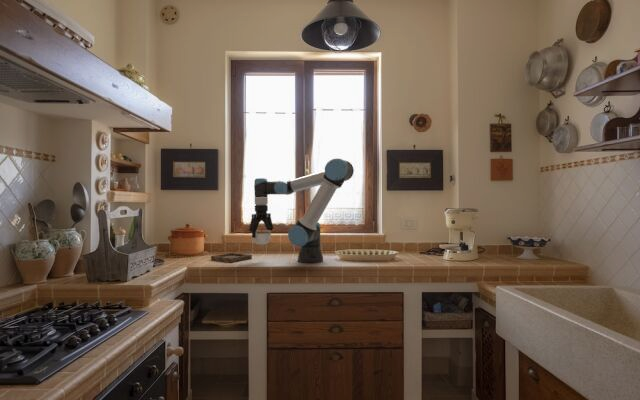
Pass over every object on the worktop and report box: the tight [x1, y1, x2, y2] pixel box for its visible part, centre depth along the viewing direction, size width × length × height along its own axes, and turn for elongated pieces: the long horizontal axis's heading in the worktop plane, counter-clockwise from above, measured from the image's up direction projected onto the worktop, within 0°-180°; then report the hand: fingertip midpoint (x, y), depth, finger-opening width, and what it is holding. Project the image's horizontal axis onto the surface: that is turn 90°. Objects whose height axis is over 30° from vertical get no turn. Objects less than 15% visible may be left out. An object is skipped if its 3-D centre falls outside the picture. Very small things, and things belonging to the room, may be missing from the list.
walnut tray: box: [210, 252, 253, 264], centre depth 237 cm, size 17×17×2 cm
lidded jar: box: [255, 227, 272, 245], centre depth 230 cm, size 11×11×9 cm
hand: (261, 242), depth 230 cm, fingers closed on lidded jar, 11 cm apart
